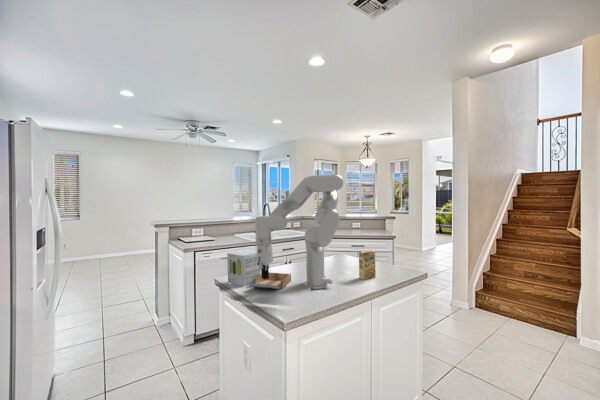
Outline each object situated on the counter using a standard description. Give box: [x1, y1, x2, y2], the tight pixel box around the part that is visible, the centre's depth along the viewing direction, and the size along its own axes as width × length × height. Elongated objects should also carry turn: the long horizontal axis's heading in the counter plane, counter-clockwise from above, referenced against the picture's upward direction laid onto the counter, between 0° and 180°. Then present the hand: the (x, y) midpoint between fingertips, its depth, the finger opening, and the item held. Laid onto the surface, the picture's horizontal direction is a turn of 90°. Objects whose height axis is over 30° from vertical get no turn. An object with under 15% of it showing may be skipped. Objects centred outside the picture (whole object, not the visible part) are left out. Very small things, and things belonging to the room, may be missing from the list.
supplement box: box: [226, 248, 261, 288], centre depth 153 cm, size 13×13×18 cm
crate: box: [254, 271, 292, 290], centre depth 149 cm, size 16×14×5 cm
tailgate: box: [249, 283, 282, 290], centre depth 139 cm, size 13×2×8 cm
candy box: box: [358, 250, 377, 280], centre depth 161 cm, size 9×4×15 cm, turn 113°
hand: (265, 277), depth 138 cm, fingers closed
